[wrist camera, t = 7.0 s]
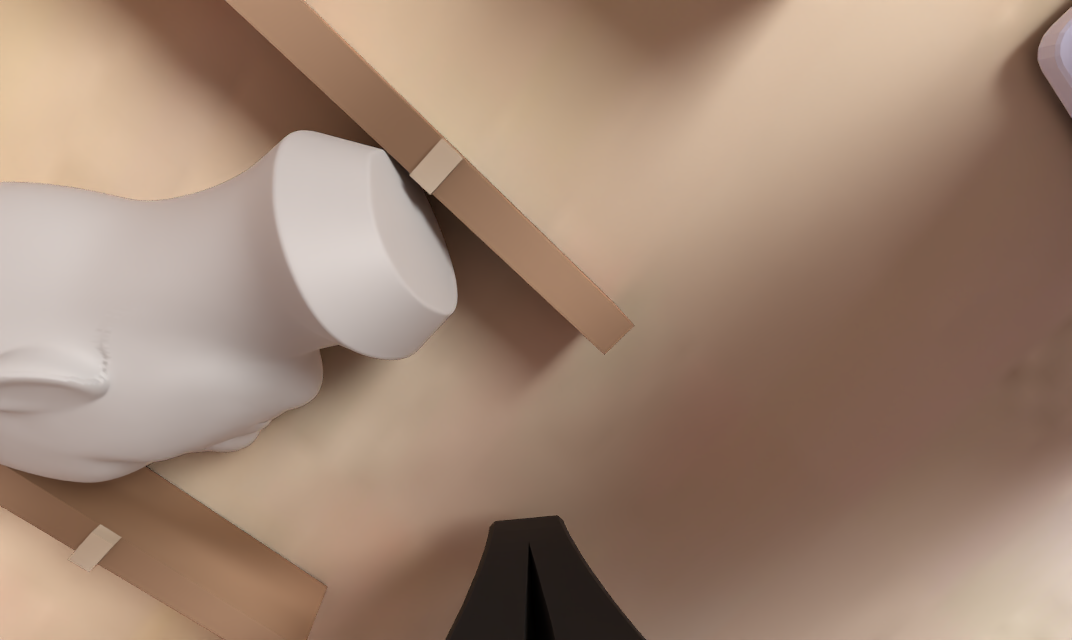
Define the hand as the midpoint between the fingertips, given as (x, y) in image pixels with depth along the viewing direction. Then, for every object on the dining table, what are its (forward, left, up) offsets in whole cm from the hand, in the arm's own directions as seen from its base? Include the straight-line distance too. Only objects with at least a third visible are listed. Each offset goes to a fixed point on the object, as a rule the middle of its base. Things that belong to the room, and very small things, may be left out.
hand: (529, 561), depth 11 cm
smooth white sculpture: (+7, 0, -2) cm, 7 cm away
